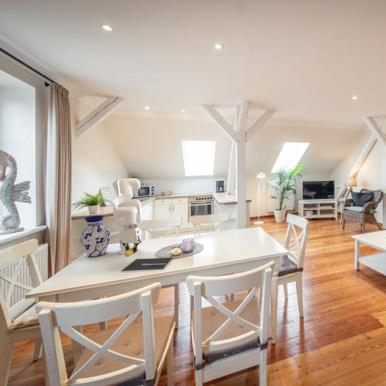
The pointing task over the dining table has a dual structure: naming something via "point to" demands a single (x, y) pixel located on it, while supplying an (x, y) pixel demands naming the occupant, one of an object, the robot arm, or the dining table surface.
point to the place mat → (138, 262)
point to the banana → (129, 252)
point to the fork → (152, 264)
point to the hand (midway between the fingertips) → (131, 251)
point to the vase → (95, 237)
